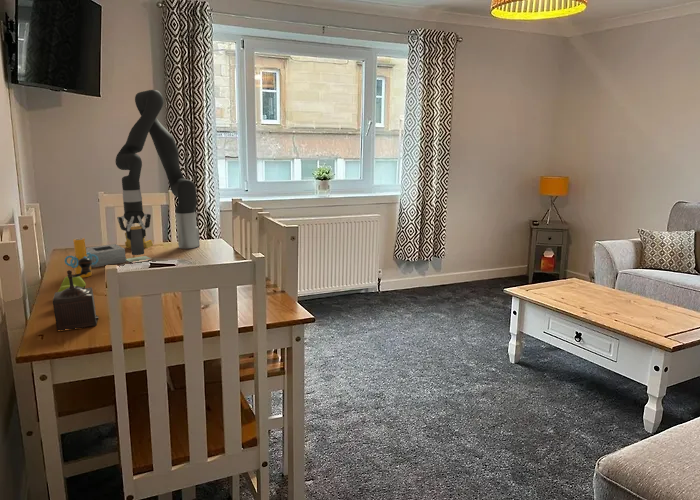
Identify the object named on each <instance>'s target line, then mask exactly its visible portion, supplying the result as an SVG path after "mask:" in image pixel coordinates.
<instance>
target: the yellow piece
mask: <svg viewBox="0 0 700 500" xmlns="http://www.w3.org/2000/svg"><path fill="white" fill-rule="evenodd" d="M124 236H125V241H124V245H125V248H126V249H131V242H130V240H129V239H128V238H127V237H126V232H124ZM152 240H153V239H149V240H146V241H145V238H143V244H144V249H148V248H151V247H153V246H154V244H153V241H152Z"/></svg>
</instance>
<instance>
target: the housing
mask: <svg viewBox="0 0 700 500" xmlns="http://www.w3.org/2000/svg"><path fill="white" fill-rule="evenodd" d="M88 252H89V253H91V254H94V255H96V256H97V257H98V262H97V263H96V264H94V265H91V269H92V268H98V267H99V268H100V267H104V265H105V266H109V265H108V264H112V265H116V264H123V263H127V261H126V259H127V258H126V257H127V256H126V249H125V248H124V247H122V246H120V245H118V244H117V243H111V244H103V245H98V246H97V245H96V246H90V247H89V246H87V247H86V253H88ZM88 256H89V254H88V255H87V257H88ZM89 259H90V258H89ZM94 262H96V258H95V257H94V256H92V263H94Z"/></svg>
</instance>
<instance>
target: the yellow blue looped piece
mask: <svg viewBox="0 0 700 500" xmlns="http://www.w3.org/2000/svg"><path fill="white" fill-rule="evenodd" d="M85 240H86V239H85V237H80V238H79V237H77V238H74V239H72V241H73V248H74V256H73V255H68V256H65V258H64V264H65V265H66V266H68V267H71V268H73V269H74V275H75V274H80V273H81V270H82V268H81V267H80V266H79V265H78V261H79V260H80V259H82V258H90V259H91V260H92V256H94V257H95V258H96V262H94V263H92V264H91V265H94V264H96V263H97V262H98V257H97V256H96V255H94V254H91V253H89V252H88V253H86V248H87V247H86V241H85ZM88 254H89V256H88V257H87V255H88ZM69 258H71V259H70V262H68V259H69ZM90 270H91V272H89V273H87V274H86V275H85V274H83V275H81V276H80V277H81V278H82V279H85V278H89V277H92V276H93V272H92V271H93V270H92V267H91V266H90Z"/></svg>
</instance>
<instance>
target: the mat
mask: <svg viewBox="0 0 700 500" xmlns="http://www.w3.org/2000/svg"><path fill="white" fill-rule="evenodd" d="M146 259H152V258H151V257H150V256H146V255H143V256H137V257H129V258H126V262H128V263H130V262H133V261H139V260H146Z"/></svg>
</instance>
